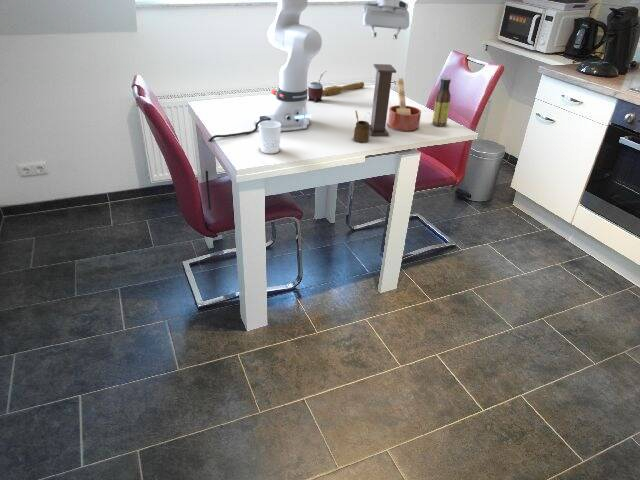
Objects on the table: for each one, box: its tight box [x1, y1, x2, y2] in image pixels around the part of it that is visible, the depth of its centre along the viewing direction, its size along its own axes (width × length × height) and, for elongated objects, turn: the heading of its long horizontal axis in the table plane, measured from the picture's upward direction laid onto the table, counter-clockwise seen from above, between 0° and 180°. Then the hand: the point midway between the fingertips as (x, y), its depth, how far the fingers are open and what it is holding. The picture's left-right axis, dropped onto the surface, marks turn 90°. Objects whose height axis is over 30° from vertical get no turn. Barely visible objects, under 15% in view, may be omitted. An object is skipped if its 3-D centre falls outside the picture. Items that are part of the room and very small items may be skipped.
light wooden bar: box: [396, 77, 411, 115], centre depth 210 cm, size 22×6×2 cm
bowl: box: [387, 104, 422, 132], centre depth 208 cm, size 13×13×7 cm
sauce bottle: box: [432, 77, 452, 127], centre depth 208 cm, size 6×6×20 cm
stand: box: [369, 63, 397, 137], centre depth 195 cm, size 10×7×26 cm
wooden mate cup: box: [353, 109, 372, 143], centre depth 190 cm, size 6×6×12 cm
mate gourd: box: [307, 70, 327, 103], centre depth 230 cm, size 8×8×15 cm
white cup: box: [258, 120, 282, 154], centre depth 177 cm, size 8×8×10 cm
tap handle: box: [322, 81, 365, 97], centre depth 249 cm, size 3×3×30 cm
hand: (384, 38), depth 212 cm, fingers open, 8 cm apart
